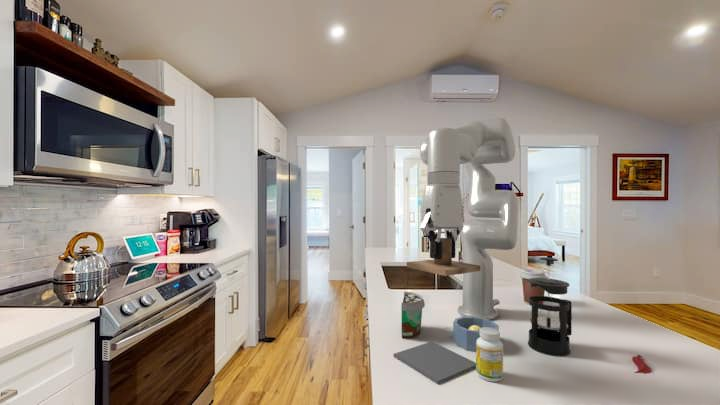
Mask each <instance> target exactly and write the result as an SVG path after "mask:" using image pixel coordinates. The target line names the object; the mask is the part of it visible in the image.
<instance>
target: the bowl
mask: <svg viewBox="0 0 720 405" xmlns="http://www.w3.org/2000/svg"><path fill="white" fill-rule="evenodd" d="M482 327H490V328H494V329H497V330H498V331H499V332H500V330H499V328H500V327H499V324H498V323H496V322H494V321H493V320H487V319H484V318H478V317H465V316H460V317H457V318H455V319H454V320H453V323H452V328H453V329H452V331H453V332H452V336H453V337H452V338H453V340H452V342H454V344H455V345H456V346H457V347H459V348H461V349H463V350H466V351H469V352H473V353H476V341H477V339H478V338H479V337H480V328H482Z"/></svg>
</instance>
